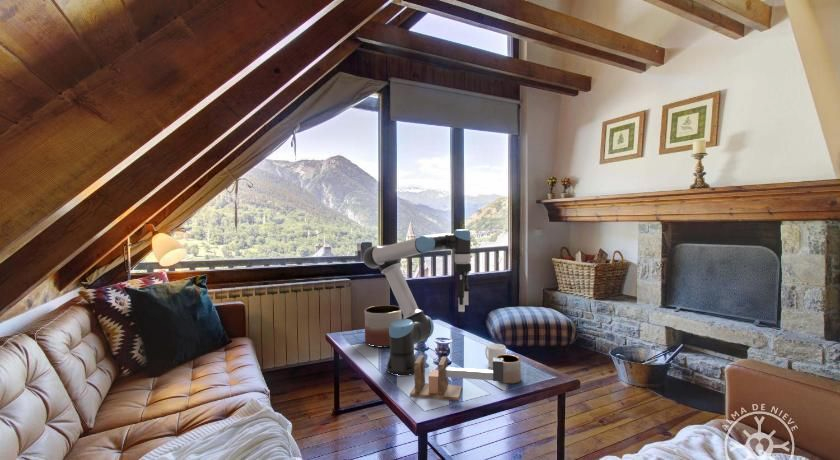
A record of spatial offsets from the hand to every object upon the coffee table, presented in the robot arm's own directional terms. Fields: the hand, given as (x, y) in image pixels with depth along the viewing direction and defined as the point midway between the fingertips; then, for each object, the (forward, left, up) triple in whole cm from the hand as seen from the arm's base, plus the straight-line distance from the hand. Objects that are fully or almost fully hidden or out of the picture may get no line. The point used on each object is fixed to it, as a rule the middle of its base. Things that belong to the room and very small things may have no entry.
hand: (463, 308), depth 184 cm
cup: (+13, +11, -31) cm, 35 cm away
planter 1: (-53, +37, -31) cm, 72 cm away
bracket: (-9, -23, -31) cm, 39 cm away
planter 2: (+20, -4, -31) cm, 37 cm away
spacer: (-9, -23, -29) cm, 38 cm away
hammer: (+7, -23, -23) cm, 33 cm away
